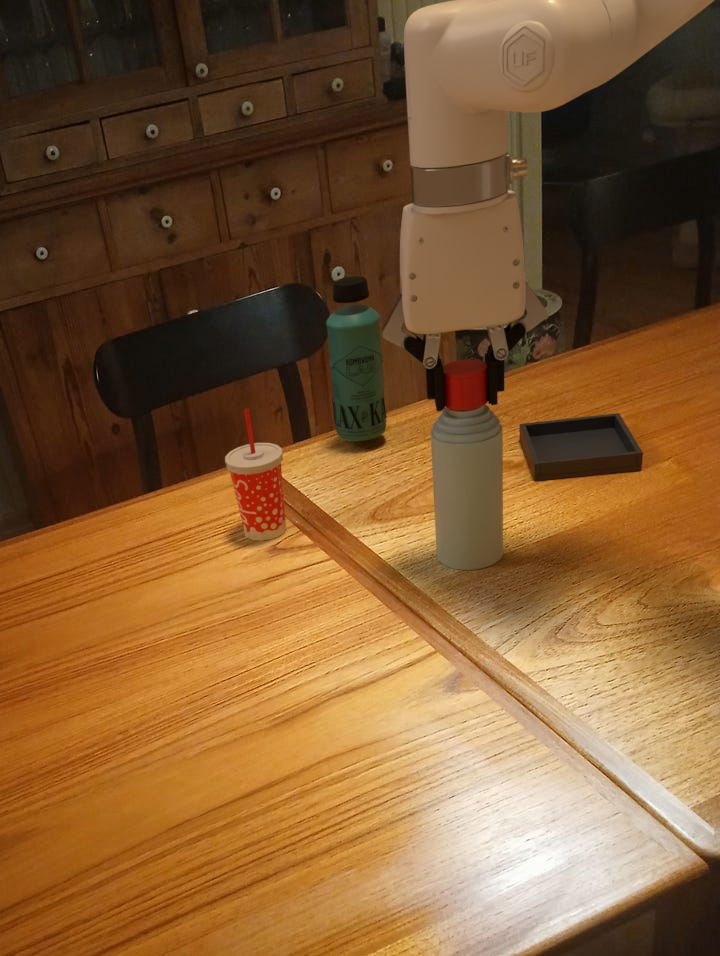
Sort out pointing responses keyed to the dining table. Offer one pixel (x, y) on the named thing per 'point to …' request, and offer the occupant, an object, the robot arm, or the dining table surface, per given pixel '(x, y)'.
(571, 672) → the dining table surface
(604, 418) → the dish
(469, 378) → the cap
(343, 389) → the beverage bottle
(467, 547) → the water bottle
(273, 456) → the beverage cup
